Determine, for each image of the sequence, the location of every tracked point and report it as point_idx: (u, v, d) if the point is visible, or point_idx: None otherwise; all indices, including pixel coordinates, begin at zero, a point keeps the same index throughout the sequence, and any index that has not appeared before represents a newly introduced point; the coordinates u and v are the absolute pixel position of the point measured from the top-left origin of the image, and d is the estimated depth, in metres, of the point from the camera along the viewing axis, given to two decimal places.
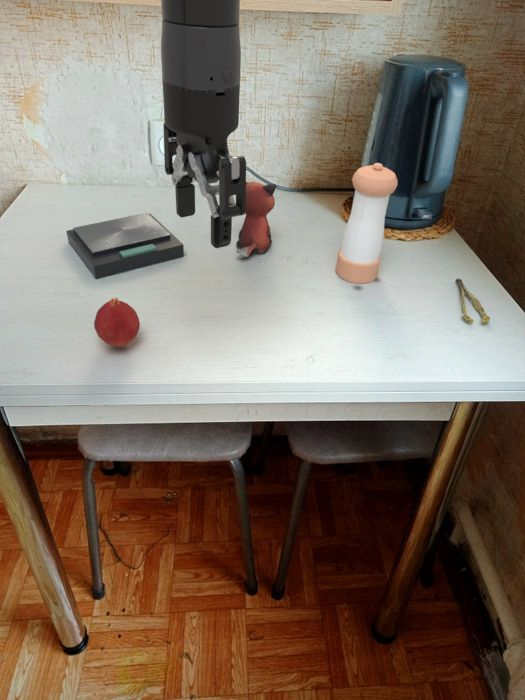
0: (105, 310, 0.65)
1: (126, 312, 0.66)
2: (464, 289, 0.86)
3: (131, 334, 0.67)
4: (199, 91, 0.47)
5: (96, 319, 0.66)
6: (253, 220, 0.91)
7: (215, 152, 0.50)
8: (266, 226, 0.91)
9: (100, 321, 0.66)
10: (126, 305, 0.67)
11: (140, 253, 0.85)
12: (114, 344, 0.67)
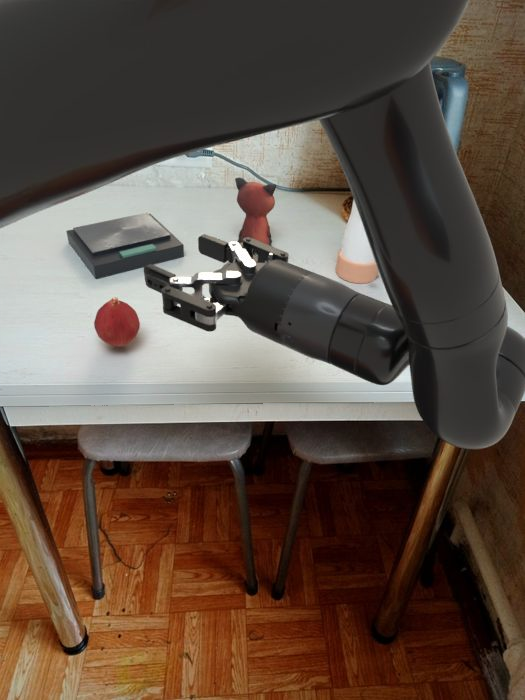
0: (105, 310, 0.65)
1: (126, 312, 0.66)
2: None
3: (131, 334, 0.67)
4: (282, 308, 0.45)
5: (96, 319, 0.66)
6: (253, 220, 0.91)
7: (228, 302, 0.48)
8: (266, 226, 0.91)
9: (100, 321, 0.66)
10: (126, 305, 0.67)
11: (140, 253, 0.85)
12: (114, 344, 0.67)
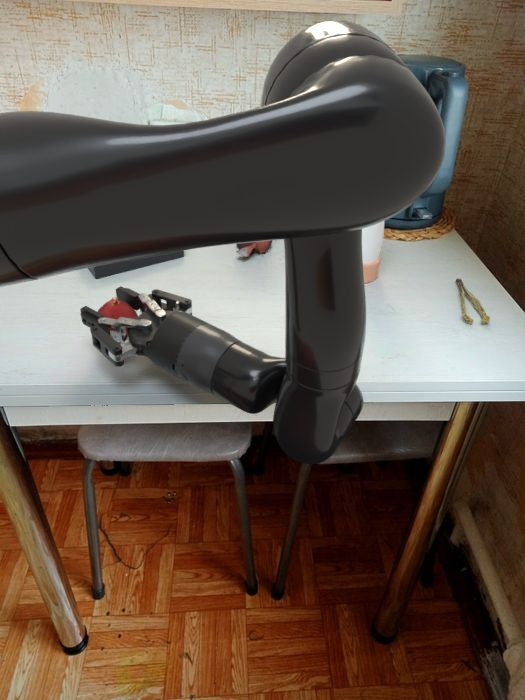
0: (105, 309, 0.65)
1: (126, 312, 0.66)
2: (464, 289, 0.86)
3: None
4: (177, 353, 0.58)
5: None
6: None
7: (136, 346, 0.60)
8: None
9: None
10: (126, 305, 0.67)
11: None
12: None
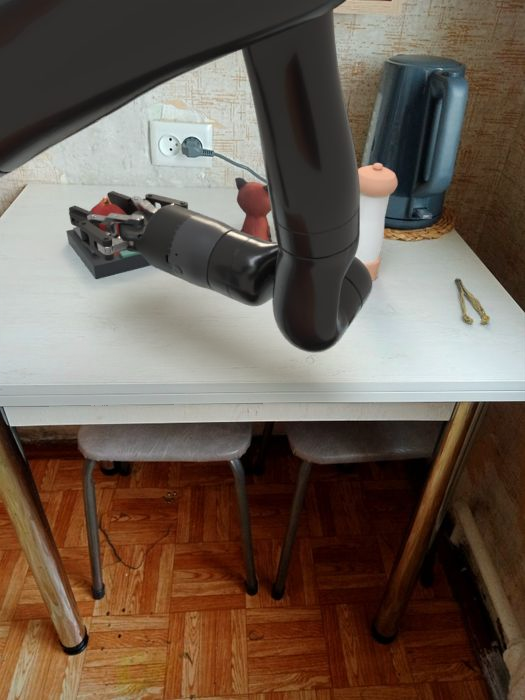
0: (96, 210, 0.61)
1: (118, 213, 0.62)
2: (463, 289, 0.86)
3: None
4: (171, 241, 0.54)
5: None
6: (253, 220, 0.91)
7: (127, 239, 0.56)
8: (266, 226, 0.91)
9: None
10: (118, 207, 0.63)
11: None
12: None
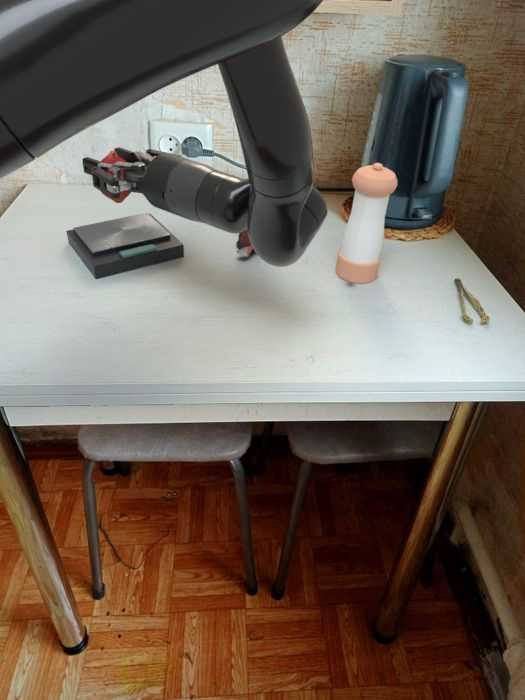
0: (105, 161, 0.74)
1: None
2: (463, 289, 0.86)
3: None
4: (166, 180, 0.66)
5: None
6: None
7: (131, 181, 0.69)
8: None
9: None
10: (123, 160, 0.75)
11: (140, 253, 0.85)
12: None
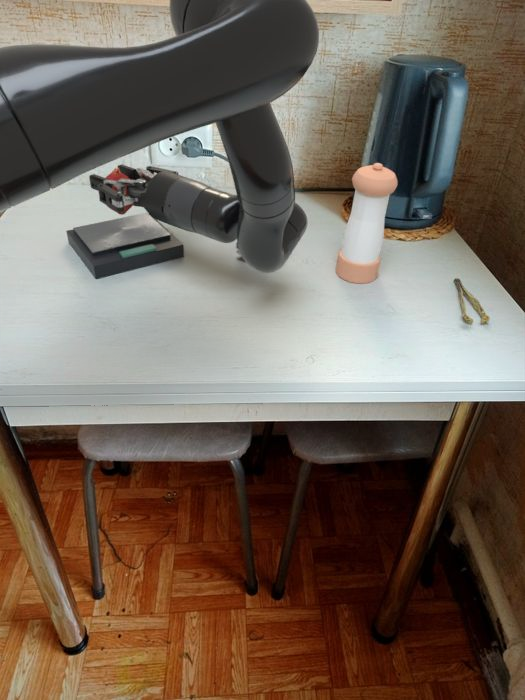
0: (109, 177, 0.82)
1: None
2: (463, 289, 0.86)
3: None
4: (165, 196, 0.74)
5: None
6: None
7: (133, 196, 0.77)
8: None
9: None
10: (126, 176, 0.84)
11: (140, 253, 0.85)
12: None
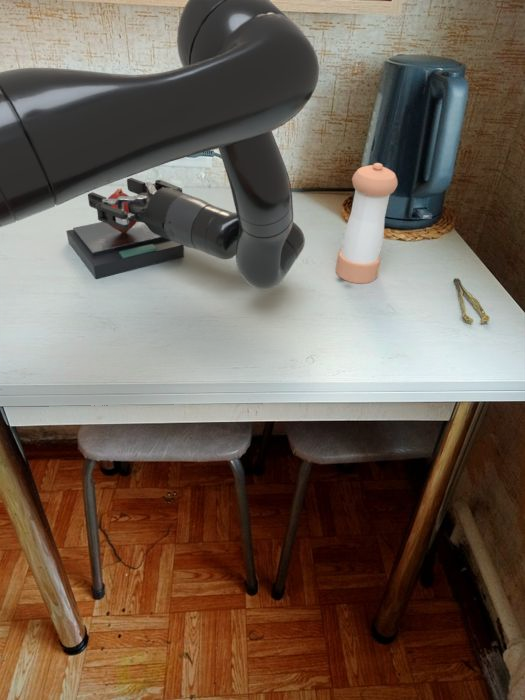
0: (112, 198, 0.84)
1: None
2: (462, 289, 0.86)
3: None
4: (166, 213, 0.76)
5: None
6: None
7: (136, 212, 0.78)
8: None
9: None
10: None
11: (140, 253, 0.85)
12: None
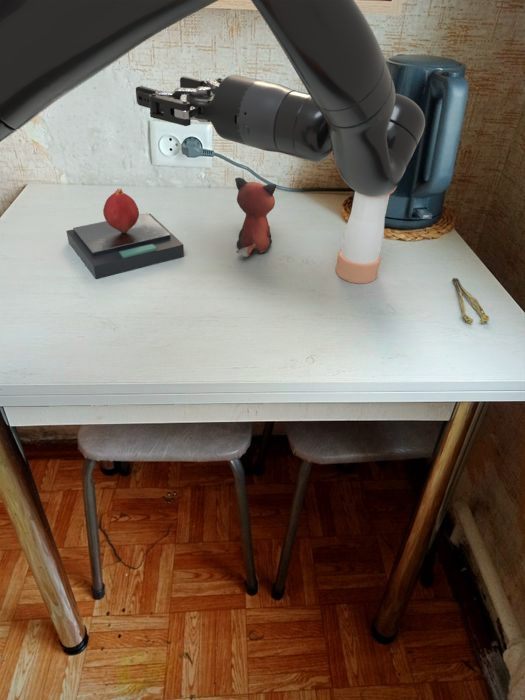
0: (112, 198, 0.84)
1: (128, 200, 0.85)
2: (461, 288, 0.86)
3: (132, 218, 0.86)
4: (240, 101, 0.59)
5: (104, 206, 0.85)
6: (253, 220, 0.91)
7: (200, 105, 0.62)
8: (266, 226, 0.91)
9: (108, 207, 0.84)
10: (128, 196, 0.86)
11: (140, 253, 0.85)
12: (119, 227, 0.86)
